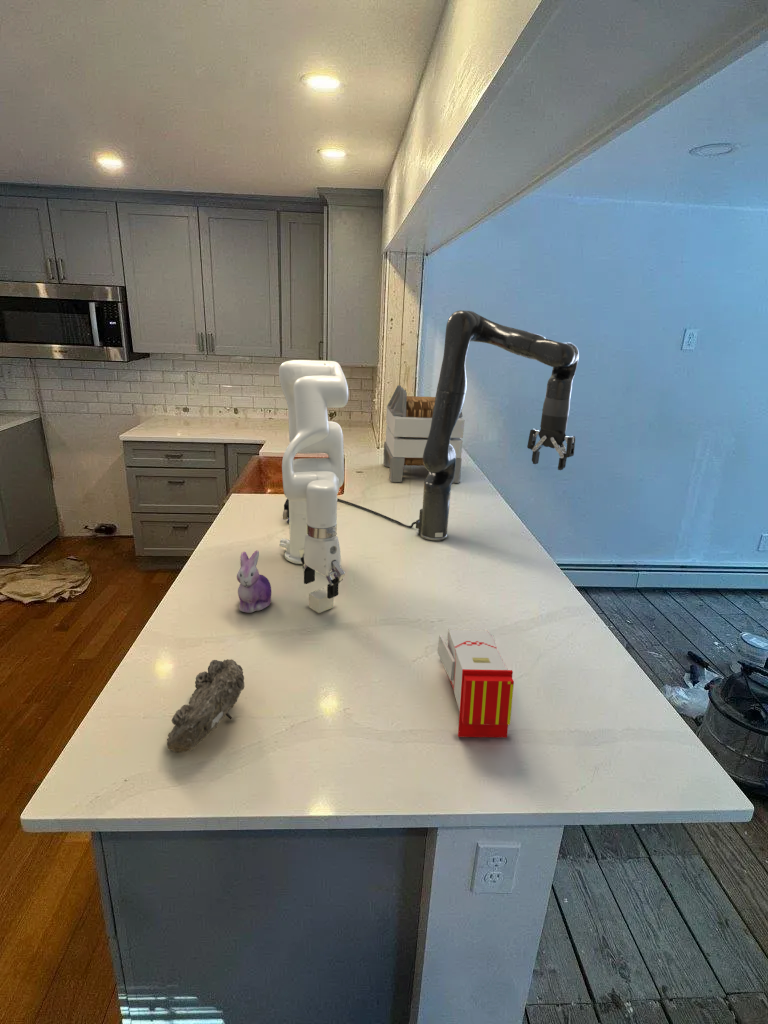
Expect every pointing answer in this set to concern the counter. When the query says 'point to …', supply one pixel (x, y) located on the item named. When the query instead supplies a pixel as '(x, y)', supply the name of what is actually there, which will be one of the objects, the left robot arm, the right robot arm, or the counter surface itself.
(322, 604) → the block
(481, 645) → the toy
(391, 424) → the white wooden crate
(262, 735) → the counter surface
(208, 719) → the fossil
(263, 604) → the figurine
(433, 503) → the right robot arm
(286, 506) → the figurine character
